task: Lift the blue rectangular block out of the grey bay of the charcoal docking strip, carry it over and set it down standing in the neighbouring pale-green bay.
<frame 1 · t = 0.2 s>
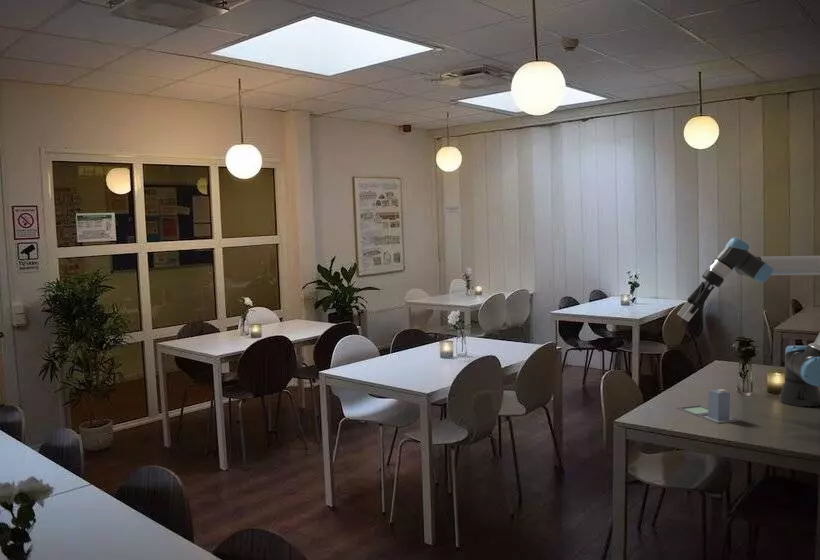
hand: (682, 318, 269), 35 cm above the table, tool tilted 35°, fingers open, 13 cm apart
blue rectangular block: (718, 418, 250), point 1 cm above the table, touching dock
dock: (708, 417, 256), on the table
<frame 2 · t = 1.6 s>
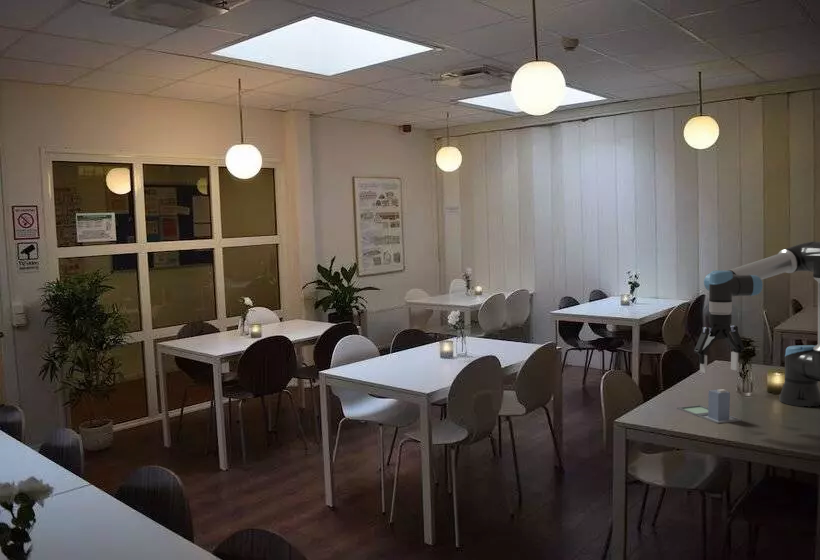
hand: (718, 371, 249), 19 cm above the table, tool pointing down, fingers open, 13 cm apart
nothing on the table moved.
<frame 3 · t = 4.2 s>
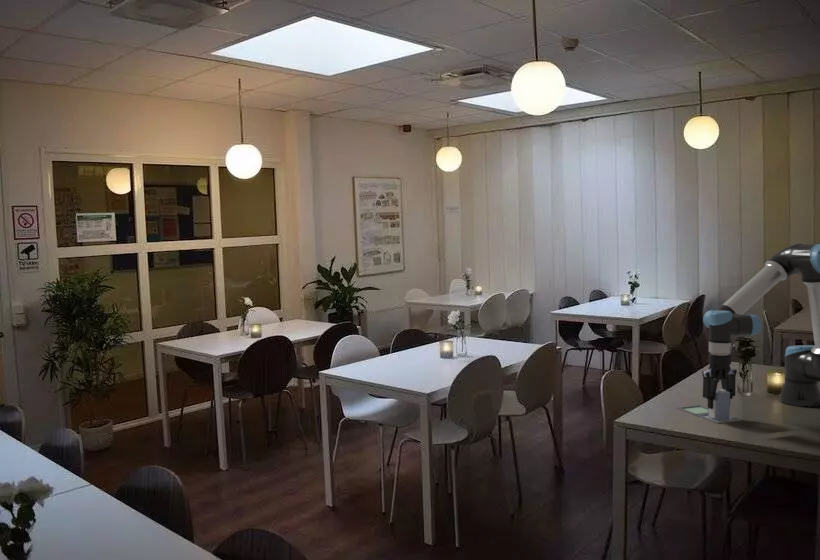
hand: (718, 416, 250), 2 cm above the table, tool pointing down, fingers closed on blue rectangular block, 5 cm apart
blue rectangular block: (718, 418, 250), point 1 cm above the table, touching dock, gripper
when the fingers open (3 cm above the table, at t = 8.1 s): blue rectangular block drops 1 cm, resting on dock.
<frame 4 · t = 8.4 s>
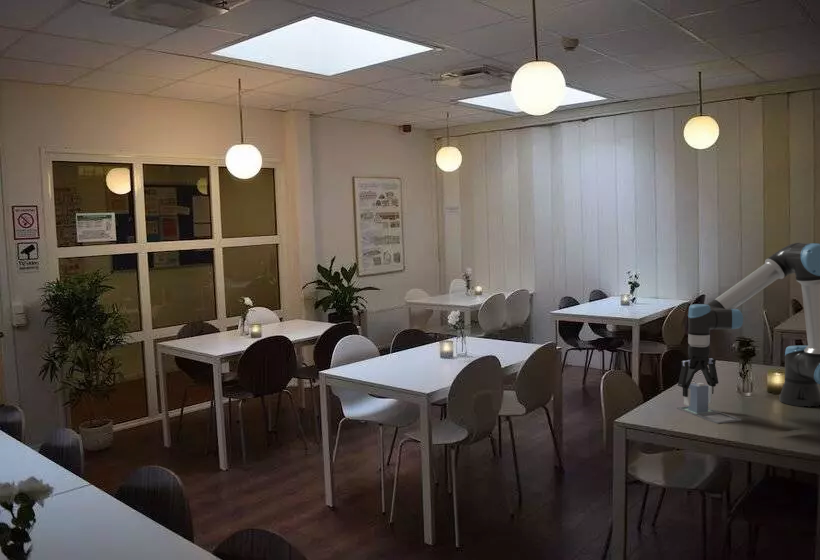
hand: (697, 403, 261), 4 cm above the table, tool pointing down, fingers open, 9 cm apart
blue rectangular block: (697, 410, 261), point 1 cm above the table, touching dock
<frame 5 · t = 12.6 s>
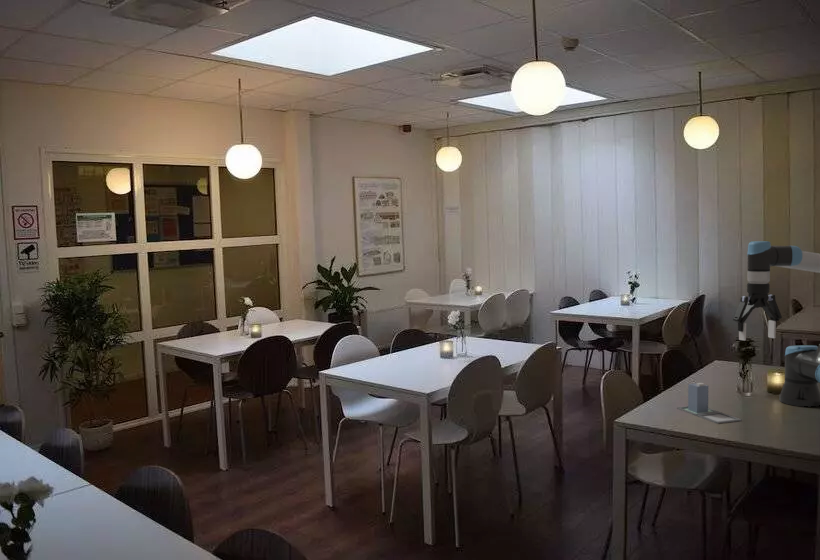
hand: (757, 339, 257), 29 cm above the table, tool pointing down, fingers open, 13 cm apart
nothing on the table moved.
at the end: blue rectangular block inside the target area on the dock (0.0 cm from its centre), point 1.3 cm above the dock's base; blue rectangular block tilted 0°; the gripper is holding nothing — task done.
